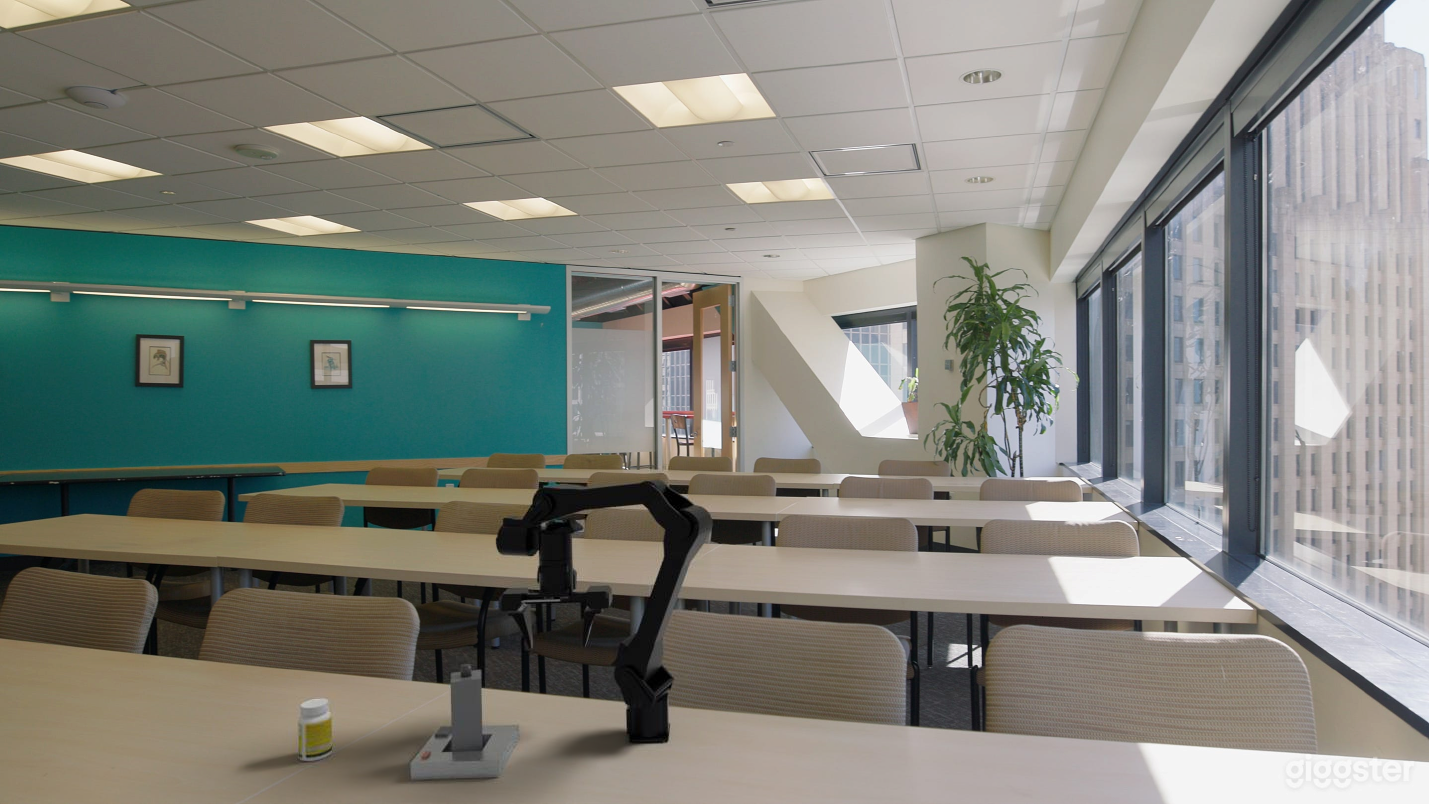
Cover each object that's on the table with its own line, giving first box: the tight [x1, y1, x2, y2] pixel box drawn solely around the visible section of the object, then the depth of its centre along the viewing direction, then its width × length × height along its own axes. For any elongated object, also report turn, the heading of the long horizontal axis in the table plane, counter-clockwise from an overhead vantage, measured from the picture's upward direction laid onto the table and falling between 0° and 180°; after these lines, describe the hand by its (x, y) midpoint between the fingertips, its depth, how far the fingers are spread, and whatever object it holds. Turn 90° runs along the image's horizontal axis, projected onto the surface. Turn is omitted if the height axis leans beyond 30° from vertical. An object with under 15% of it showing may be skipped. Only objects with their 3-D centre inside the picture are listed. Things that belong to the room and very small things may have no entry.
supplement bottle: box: [297, 698, 333, 762], centre depth 126 cm, size 5×5×8 cm
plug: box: [450, 663, 483, 752], centre depth 124 cm, size 4×4×15 cm
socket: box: [410, 724, 520, 781], centre depth 124 cm, size 13×13×3 cm
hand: (557, 647), depth 137 cm, fingers open, 9 cm apart
